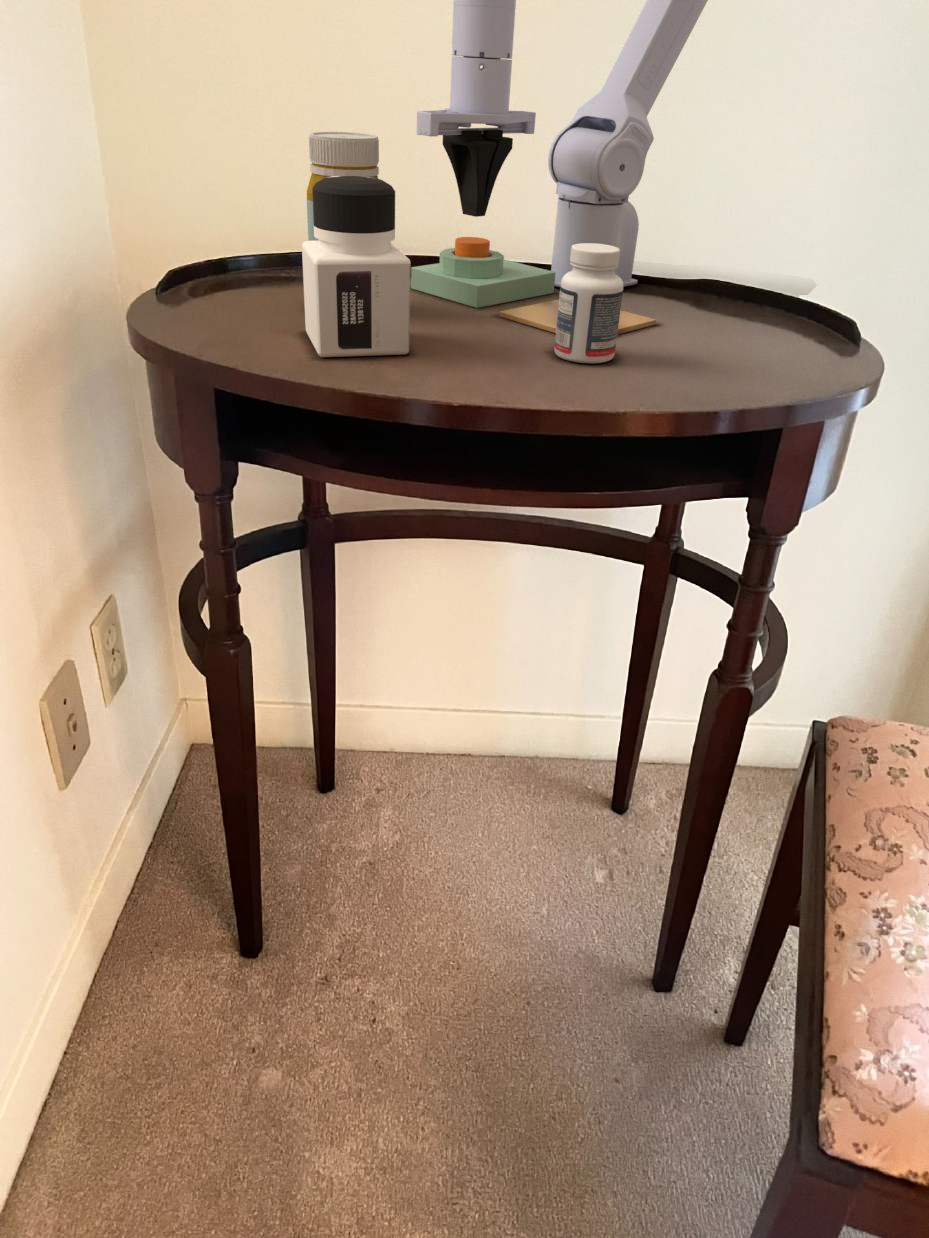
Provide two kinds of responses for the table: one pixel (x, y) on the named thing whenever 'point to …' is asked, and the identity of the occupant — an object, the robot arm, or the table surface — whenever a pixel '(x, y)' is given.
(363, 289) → the container
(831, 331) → the table surface
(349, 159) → the bottle
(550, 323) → the coaster
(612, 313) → the pill bottle
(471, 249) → the orange button cap
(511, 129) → the robot arm
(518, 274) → the base
